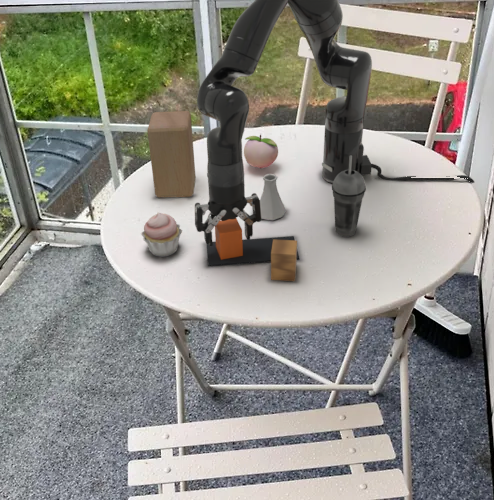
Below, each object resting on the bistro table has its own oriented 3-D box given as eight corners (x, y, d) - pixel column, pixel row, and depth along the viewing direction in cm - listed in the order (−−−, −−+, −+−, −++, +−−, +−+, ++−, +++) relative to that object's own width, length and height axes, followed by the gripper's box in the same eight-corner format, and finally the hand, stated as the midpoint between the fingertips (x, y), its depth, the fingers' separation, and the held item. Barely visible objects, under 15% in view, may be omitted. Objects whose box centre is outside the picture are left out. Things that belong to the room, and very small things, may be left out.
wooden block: (196, 178, 176) (190, 109, 164) (193, 198, 168) (187, 126, 156) (159, 179, 177) (151, 110, 166) (154, 199, 169) (146, 128, 158)
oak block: (296, 266, 141) (297, 240, 137) (294, 281, 137) (295, 254, 133) (273, 265, 142) (273, 239, 138) (271, 279, 138) (270, 253, 134)
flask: (249, 214, 159) (248, 179, 154) (267, 201, 163) (266, 166, 158) (273, 224, 155) (273, 187, 149) (291, 210, 159) (292, 174, 153)
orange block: (237, 243, 149) (236, 217, 145) (242, 256, 145) (242, 229, 141) (215, 247, 149) (214, 221, 145) (221, 259, 145) (219, 233, 140)
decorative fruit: (239, 174, 176) (238, 140, 170) (248, 160, 182) (247, 127, 176) (273, 178, 172) (273, 144, 167) (281, 163, 178) (281, 130, 173)
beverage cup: (363, 224, 152) (370, 146, 140) (360, 242, 146) (367, 162, 135) (331, 220, 154) (336, 144, 143) (327, 238, 149) (331, 160, 137)
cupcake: (156, 234, 156) (152, 198, 150) (190, 242, 152) (187, 206, 146) (135, 255, 150) (129, 218, 144) (170, 265, 146) (166, 228, 140)
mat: (293, 238, 150) (293, 235, 150) (299, 260, 143) (299, 257, 143) (206, 244, 151) (206, 242, 151) (208, 266, 144) (207, 264, 144)
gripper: (196, 191, 132) (201, 255, 142) (264, 180, 133) (264, 244, 143) (188, 173, 138) (194, 236, 148) (254, 163, 139) (255, 226, 149)
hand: (228, 240), depth 145 cm, fingers open, 8 cm apart
